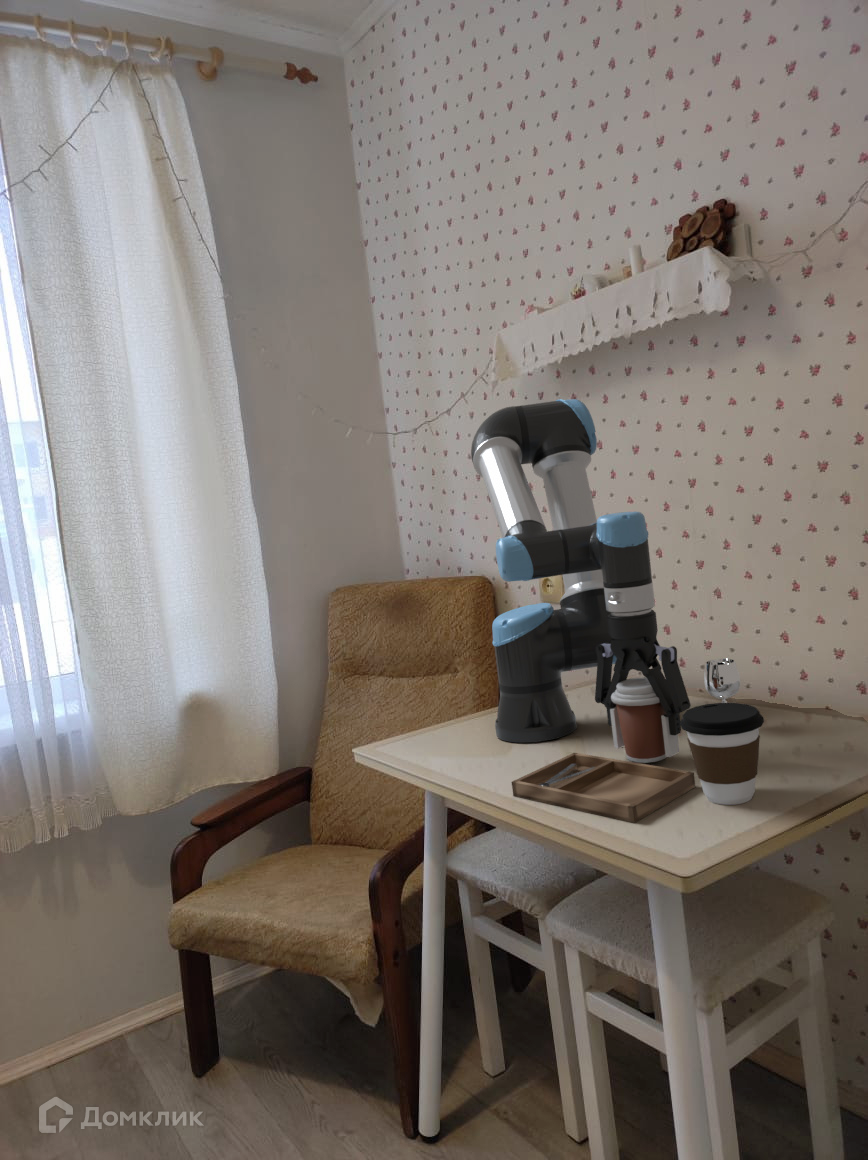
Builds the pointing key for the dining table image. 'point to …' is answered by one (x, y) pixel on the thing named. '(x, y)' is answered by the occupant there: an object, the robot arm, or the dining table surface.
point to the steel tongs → (564, 776)
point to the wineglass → (721, 678)
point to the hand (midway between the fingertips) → (646, 749)
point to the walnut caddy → (607, 786)
